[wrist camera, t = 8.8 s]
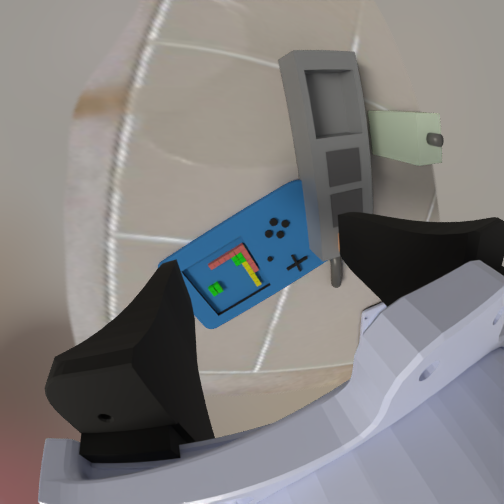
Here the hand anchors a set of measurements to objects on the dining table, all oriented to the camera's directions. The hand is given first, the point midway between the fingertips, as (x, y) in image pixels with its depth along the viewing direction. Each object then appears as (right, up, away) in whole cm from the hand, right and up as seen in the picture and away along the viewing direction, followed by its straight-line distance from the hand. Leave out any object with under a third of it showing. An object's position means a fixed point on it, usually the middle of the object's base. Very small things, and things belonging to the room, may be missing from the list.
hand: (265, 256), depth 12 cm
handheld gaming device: (0, 0, +12) cm, 12 cm away
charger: (+11, +11, +10) cm, 19 cm away
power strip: (+6, +6, +11) cm, 13 cm away
